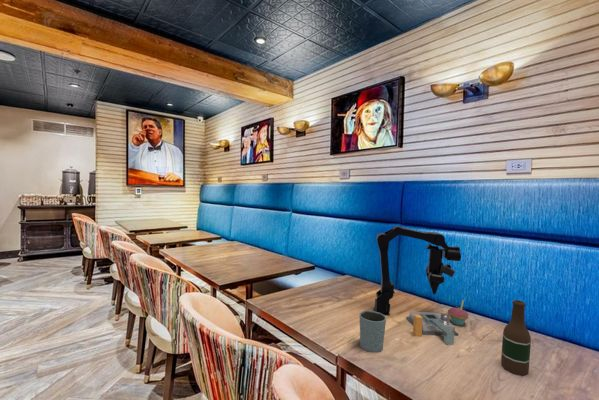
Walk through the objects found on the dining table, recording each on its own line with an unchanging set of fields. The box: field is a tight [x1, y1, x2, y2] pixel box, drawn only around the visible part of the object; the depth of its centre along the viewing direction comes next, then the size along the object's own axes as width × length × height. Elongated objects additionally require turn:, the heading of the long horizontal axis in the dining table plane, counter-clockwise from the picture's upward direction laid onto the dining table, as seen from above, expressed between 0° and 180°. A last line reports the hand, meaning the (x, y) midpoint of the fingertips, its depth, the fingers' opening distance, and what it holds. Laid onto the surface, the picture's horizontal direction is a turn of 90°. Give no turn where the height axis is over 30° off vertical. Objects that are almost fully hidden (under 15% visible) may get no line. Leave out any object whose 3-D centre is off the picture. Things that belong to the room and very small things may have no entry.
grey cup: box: [358, 310, 387, 354], centre depth 111 cm, size 10×10×12 cm
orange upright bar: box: [412, 315, 423, 337], centre depth 122 cm, size 3×3×8 cm
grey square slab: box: [405, 311, 459, 345], centre depth 127 cm, size 16×24×6 cm
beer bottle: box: [500, 299, 532, 377], centre depth 100 cm, size 8×8×24 cm
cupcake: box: [447, 299, 469, 327], centre depth 135 cm, size 9×8×12 cm
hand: (433, 291), depth 138 cm, fingers open, 9 cm apart
